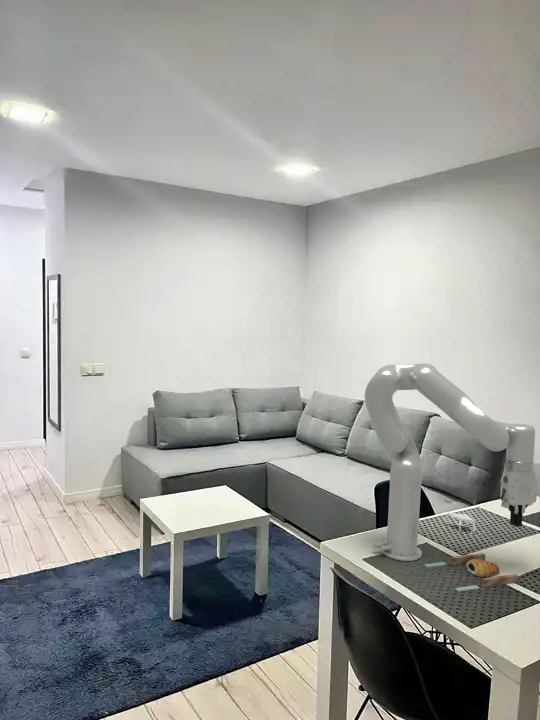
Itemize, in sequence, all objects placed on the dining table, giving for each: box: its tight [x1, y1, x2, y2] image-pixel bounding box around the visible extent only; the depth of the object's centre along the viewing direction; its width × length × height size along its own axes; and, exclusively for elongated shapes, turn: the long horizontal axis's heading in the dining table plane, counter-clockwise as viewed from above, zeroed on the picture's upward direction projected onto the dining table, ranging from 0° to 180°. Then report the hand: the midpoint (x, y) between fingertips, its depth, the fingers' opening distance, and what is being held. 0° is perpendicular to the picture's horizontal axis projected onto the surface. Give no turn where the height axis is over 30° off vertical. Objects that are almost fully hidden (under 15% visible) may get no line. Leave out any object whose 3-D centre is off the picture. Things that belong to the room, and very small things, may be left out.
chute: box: [449, 552, 520, 588], centre depth 168 cm, size 12×15×2 cm
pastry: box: [465, 559, 501, 578], centre depth 169 cm, size 9×7×4 cm
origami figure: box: [443, 512, 476, 535], centre depth 203 cm, size 12×8×5 cm
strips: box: [424, 561, 480, 593], centre depth 165 cm, size 7×16×1 cm, turn 19°
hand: (515, 525), depth 170 cm, fingers closed
